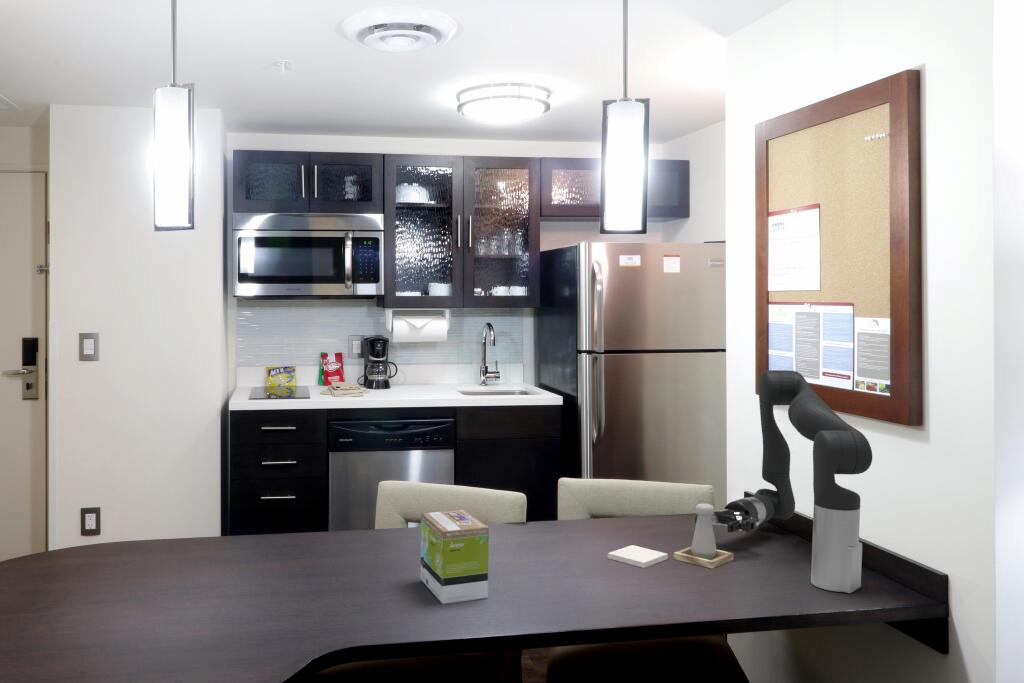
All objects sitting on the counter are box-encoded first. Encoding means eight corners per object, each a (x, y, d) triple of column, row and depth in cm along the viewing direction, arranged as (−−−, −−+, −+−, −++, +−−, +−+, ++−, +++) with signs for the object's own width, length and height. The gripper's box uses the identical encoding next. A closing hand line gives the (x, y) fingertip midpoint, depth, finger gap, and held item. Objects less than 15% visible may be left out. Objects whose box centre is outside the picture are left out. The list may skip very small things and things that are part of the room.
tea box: (418, 581, 171) (420, 511, 171) (463, 576, 175) (465, 507, 175) (441, 605, 157) (442, 529, 157) (489, 599, 161) (491, 525, 161)
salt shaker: (714, 556, 194) (716, 502, 193) (718, 563, 188) (719, 507, 188) (689, 555, 194) (691, 501, 194) (692, 562, 189) (694, 506, 188)
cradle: (733, 559, 191) (733, 553, 191) (712, 568, 184) (712, 562, 184) (695, 550, 198) (695, 544, 198) (673, 559, 191) (673, 552, 191)
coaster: (667, 558, 191) (667, 553, 191) (643, 568, 184) (643, 562, 183) (632, 549, 198) (632, 544, 198) (607, 558, 190) (607, 553, 190)
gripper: (720, 494, 210) (687, 503, 198) (772, 503, 201) (740, 514, 189) (719, 523, 211) (686, 534, 199) (771, 534, 201) (739, 546, 189)
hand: (712, 524), depth 194 cm, fingers open, 8 cm apart
